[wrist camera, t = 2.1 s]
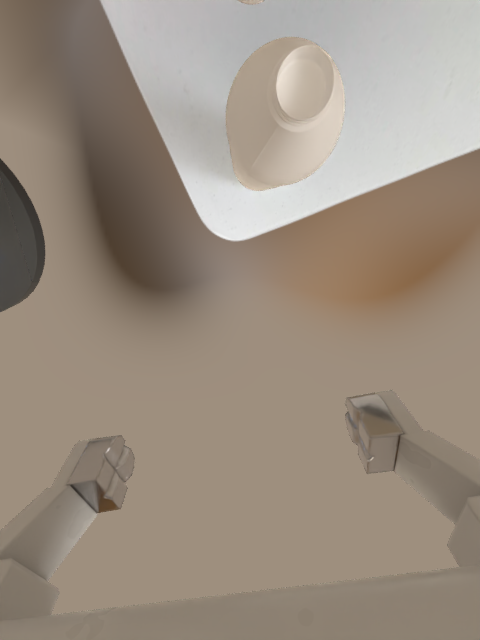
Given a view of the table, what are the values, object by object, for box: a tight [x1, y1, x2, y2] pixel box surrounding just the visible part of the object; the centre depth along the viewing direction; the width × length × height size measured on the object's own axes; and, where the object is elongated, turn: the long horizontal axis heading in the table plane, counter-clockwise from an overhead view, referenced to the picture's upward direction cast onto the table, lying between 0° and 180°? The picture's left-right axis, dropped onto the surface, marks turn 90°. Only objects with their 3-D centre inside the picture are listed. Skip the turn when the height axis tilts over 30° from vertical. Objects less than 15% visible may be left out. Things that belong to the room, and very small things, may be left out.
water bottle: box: [226, 0, 345, 191], centre depth 21 cm, size 9×6×25 cm
